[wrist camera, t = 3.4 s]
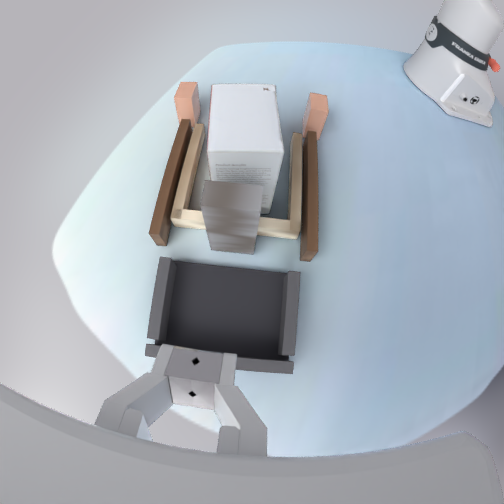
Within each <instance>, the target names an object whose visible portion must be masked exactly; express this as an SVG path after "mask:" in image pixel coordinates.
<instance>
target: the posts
mask: <svg viewBox="0 0 504 504" xmlns="http://www.w3.org/2000/svg"><path fill="white" fill-rule="evenodd" d="M174 100H175V105H176V110H177V115H178V119H179V124H180V122H181V119H190V121H191V126H192V127H194V126H195V123H197V121H198V118H199V115H200V112H201V110H200V101H199V93H198V84H197V82H181V83H180V85H179V87H178V90H177V92H176V94H175V97H174ZM328 113H329V110H328V101H327V95H321V94H316V93H310V94H309V98H308V102H307V106H306V109H305V113H304V117H303V120H302V129H303V138H305V137H306V134H307V131H308V130H309V131H315V132H316V133H317V140H319V138H320V135H321V132H322V129H323V127H324V124H325V121H326V118H327V116H328Z"/></svg>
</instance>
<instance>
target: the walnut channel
mask: <svg viewBox="0 0 504 504" xmlns="http://www.w3.org/2000/svg"><path fill="white" fill-rule="evenodd" d="M192 133H193V132H192V126H191V121H190V119H181V122H180V125H179V128H178V131H177V134H176V137H175V140H174V143H173V146H172V150H171V153H170V156H169V159H168V163H167V166H166V169H165V173H164V176H163V180H162V183H161V187H160V191H159V194H158V198H157V202H156V206H155V210H154V214H153V218H152V222H151V226H150V230H149V235H150V236H151V237H152V239H153V240H154V242H155V243H156V244H157V245H161V246H167V241H168V237H169V232H170V227H171V222H172V220H171V213H172V209H173V205H174V200H175V196H176V192H177V188H178V184H179V180H180V176H181V172H182V168H183V165H184V161H185V157H186V154H187V150H188V146H189V143H190V139H191V136H192ZM317 252H318V157H317V133H316V132H315V131H309V130H308V131H307V134H306V137H305V141H304V144H303V171H302V221H301V248H300V261H311V260H312V258H313V257H314V256H315V255H316V253H317Z"/></svg>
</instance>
